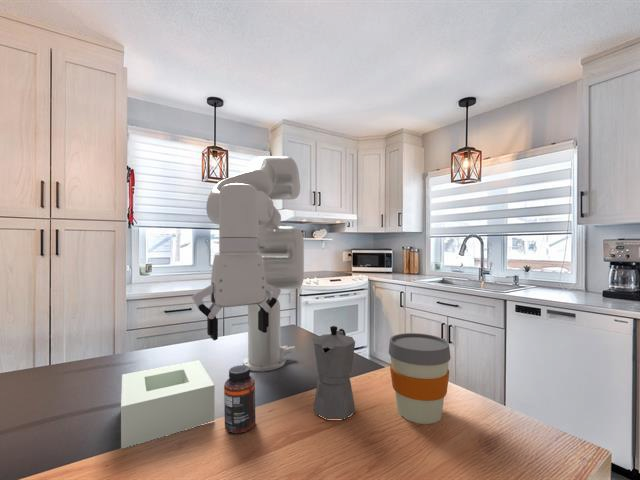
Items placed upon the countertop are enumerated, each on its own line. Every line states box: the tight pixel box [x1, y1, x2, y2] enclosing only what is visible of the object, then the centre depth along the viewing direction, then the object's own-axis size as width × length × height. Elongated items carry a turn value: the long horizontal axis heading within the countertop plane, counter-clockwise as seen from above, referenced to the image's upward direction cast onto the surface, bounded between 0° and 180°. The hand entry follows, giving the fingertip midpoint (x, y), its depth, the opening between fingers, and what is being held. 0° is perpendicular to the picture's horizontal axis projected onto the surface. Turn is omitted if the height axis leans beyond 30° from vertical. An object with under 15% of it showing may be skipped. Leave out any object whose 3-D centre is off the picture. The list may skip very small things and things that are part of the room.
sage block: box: [120, 359, 216, 450], centre depth 67 cm, size 16×16×8 cm
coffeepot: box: [312, 325, 356, 419], centre depth 70 cm, size 15×9×18 cm, turn 162°
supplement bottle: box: [223, 364, 257, 434], centre depth 63 cm, size 6×6×11 cm
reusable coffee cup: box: [388, 332, 451, 425], centre depth 68 cm, size 13×13×15 cm
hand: (239, 334), depth 63 cm, fingers open, 9 cm apart
